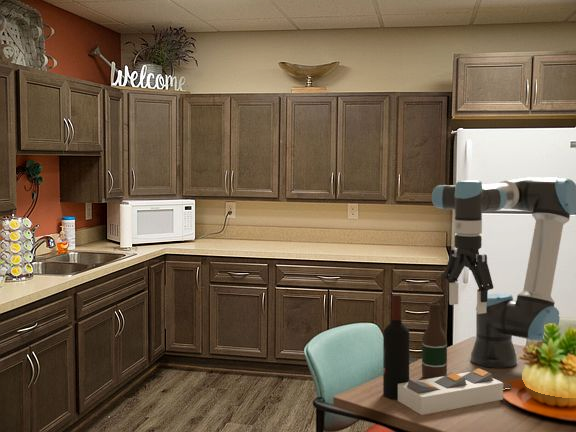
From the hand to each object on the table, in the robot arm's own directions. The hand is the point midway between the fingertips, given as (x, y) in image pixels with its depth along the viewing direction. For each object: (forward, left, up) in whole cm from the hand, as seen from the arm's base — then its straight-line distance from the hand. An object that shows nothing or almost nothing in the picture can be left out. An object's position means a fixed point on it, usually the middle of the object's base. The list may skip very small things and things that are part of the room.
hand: (467, 308), depth 195 cm
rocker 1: (+16, 0, -22) cm, 27 cm away
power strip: (+2, 0, -26) cm, 26 cm away
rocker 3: (-4, 0, -22) cm, 23 cm away
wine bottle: (+18, -10, -26) cm, 33 cm away
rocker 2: (+5, 0, -22) cm, 23 cm away
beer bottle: (-2, -19, -26) cm, 33 cm away
